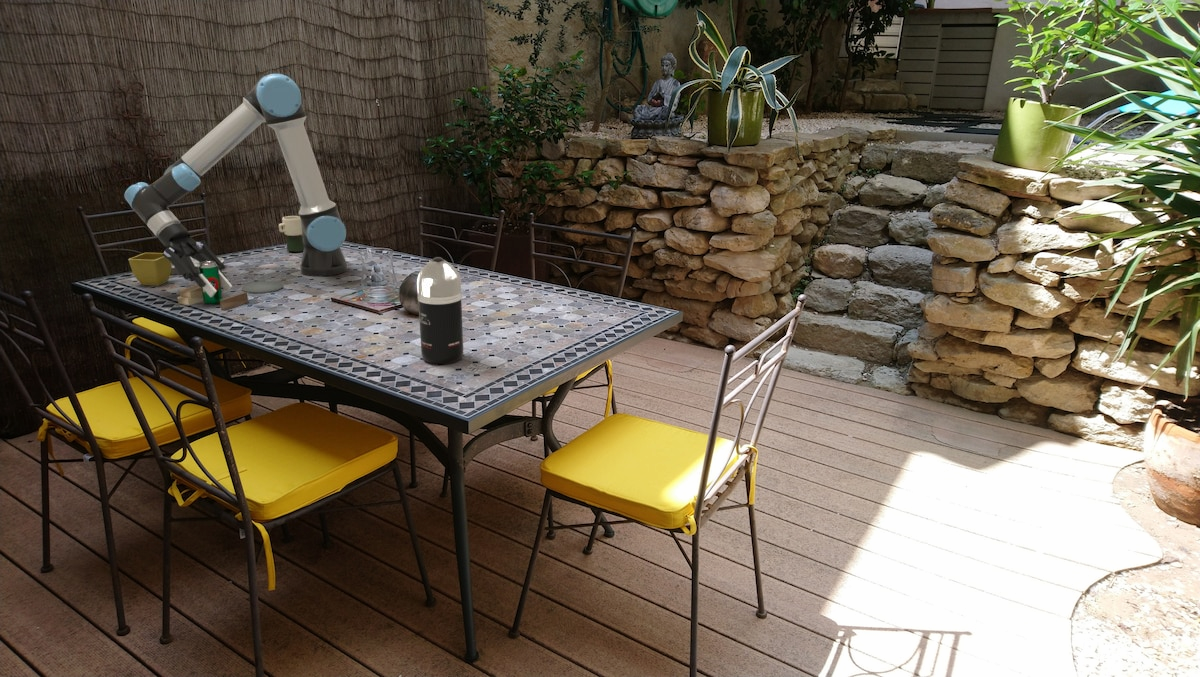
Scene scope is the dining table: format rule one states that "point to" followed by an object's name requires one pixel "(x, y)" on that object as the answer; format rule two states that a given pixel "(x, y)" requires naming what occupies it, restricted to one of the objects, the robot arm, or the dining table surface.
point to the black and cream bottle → (440, 312)
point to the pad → (262, 287)
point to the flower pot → (151, 268)
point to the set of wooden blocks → (195, 296)
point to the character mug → (292, 232)
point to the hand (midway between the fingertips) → (221, 291)
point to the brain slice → (195, 262)
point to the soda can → (211, 281)
